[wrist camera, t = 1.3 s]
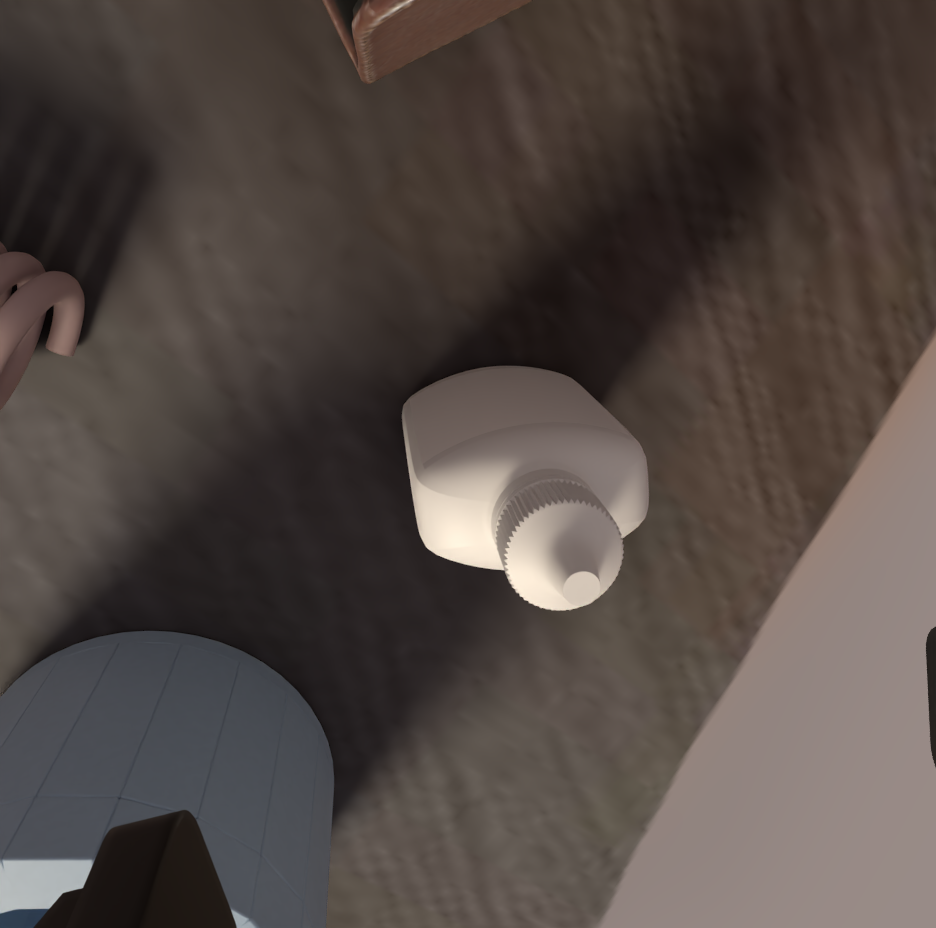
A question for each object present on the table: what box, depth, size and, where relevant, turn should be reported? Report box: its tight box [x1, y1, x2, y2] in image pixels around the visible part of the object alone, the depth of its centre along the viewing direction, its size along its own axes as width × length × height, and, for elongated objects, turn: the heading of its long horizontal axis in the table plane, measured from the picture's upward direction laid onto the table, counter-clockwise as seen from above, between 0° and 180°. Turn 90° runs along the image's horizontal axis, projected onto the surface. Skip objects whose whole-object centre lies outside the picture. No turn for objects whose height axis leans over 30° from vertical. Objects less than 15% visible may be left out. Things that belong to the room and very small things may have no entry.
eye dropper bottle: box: [402, 366, 649, 611], centre depth 21 cm, size 4×6×12 cm
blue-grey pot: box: [0, 631, 334, 928], centre depth 25 cm, size 12×12×10 cm
